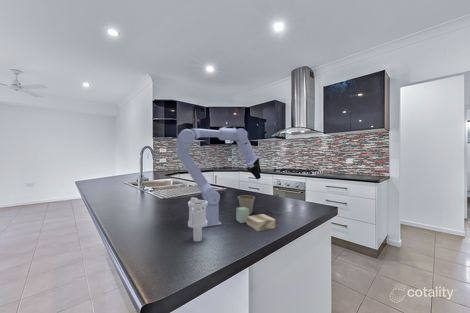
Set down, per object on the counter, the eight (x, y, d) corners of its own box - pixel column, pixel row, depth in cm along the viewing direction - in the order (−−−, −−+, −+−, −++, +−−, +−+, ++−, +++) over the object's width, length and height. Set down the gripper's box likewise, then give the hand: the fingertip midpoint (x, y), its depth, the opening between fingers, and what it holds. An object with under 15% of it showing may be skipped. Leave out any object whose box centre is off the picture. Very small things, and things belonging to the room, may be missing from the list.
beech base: (257, 232, 82) (257, 222, 82) (246, 225, 90) (246, 216, 90) (275, 228, 86) (275, 219, 86) (263, 222, 94) (263, 213, 94)
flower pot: (248, 216, 102) (248, 199, 101) (234, 213, 107) (234, 197, 107) (258, 212, 109) (258, 196, 109) (244, 209, 115) (244, 194, 115)
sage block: (240, 223, 92) (240, 210, 92) (236, 220, 96) (236, 207, 96) (249, 221, 94) (249, 209, 94) (244, 219, 98) (244, 206, 98)
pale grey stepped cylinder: (198, 234, 78) (199, 196, 78) (211, 239, 74) (211, 198, 74) (183, 240, 73) (184, 198, 73) (196, 245, 68) (196, 201, 68)
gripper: (254, 151, 89) (266, 177, 92) (255, 145, 103) (266, 167, 106) (240, 158, 91) (252, 183, 94) (243, 150, 105) (254, 172, 107)
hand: (259, 175), depth 100 cm, fingers open, 7 cm apart
